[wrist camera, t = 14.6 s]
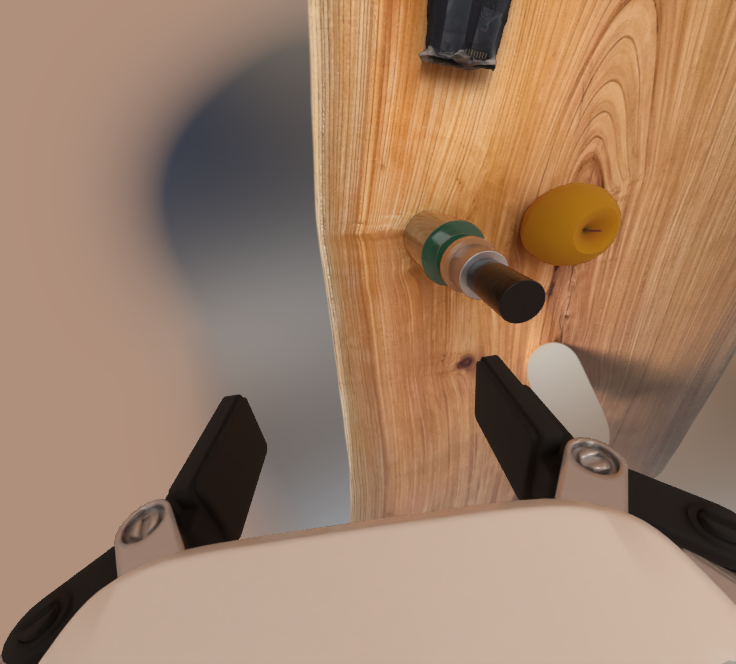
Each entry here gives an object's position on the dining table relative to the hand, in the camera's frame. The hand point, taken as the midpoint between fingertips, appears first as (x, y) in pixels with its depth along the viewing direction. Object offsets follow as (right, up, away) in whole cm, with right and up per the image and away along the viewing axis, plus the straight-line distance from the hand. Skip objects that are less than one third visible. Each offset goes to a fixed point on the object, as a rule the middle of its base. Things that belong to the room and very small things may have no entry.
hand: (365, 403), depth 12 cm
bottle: (+9, +17, +30) cm, 35 cm away
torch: (+10, +9, +15) cm, 20 cm away
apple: (+25, +19, +30) cm, 43 cm away
